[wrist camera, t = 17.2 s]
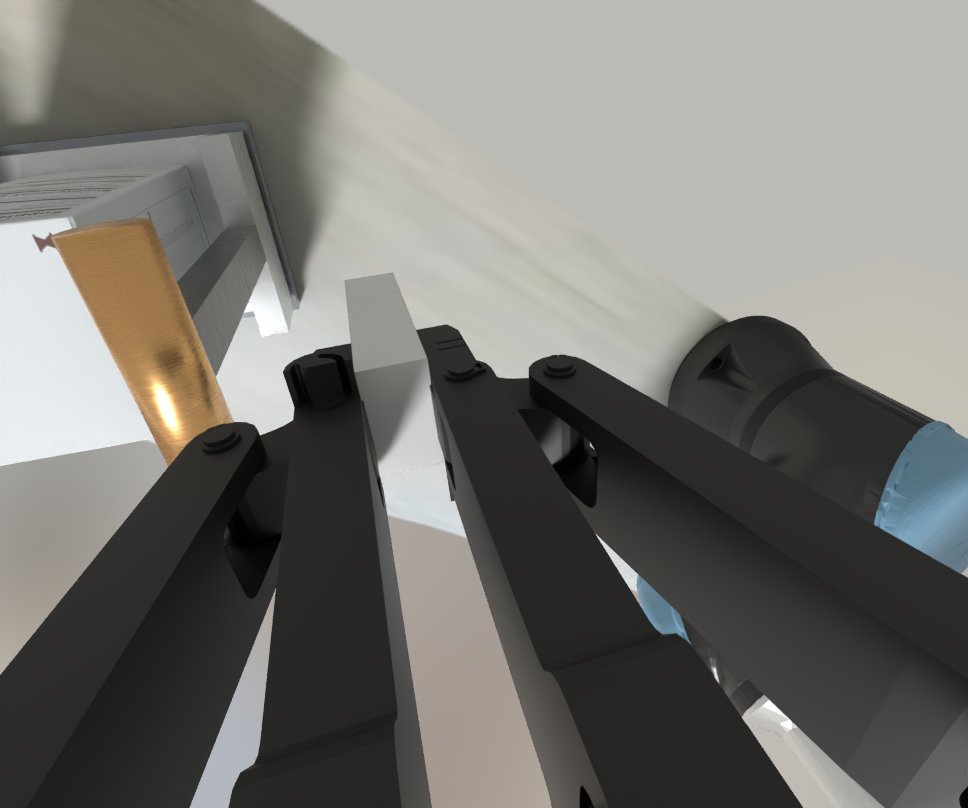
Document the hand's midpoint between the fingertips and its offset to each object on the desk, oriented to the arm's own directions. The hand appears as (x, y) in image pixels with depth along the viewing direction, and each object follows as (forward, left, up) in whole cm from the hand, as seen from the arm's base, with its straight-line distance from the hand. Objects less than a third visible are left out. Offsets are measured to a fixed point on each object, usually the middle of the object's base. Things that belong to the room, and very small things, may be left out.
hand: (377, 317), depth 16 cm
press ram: (0, +6, -21) cm, 22 cm away
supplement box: (-1, +14, -22) cm, 26 cm away
